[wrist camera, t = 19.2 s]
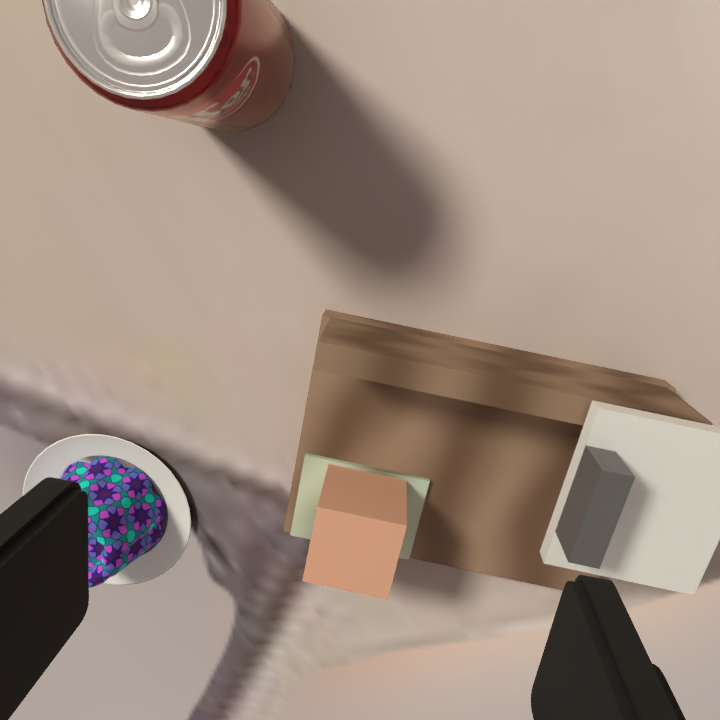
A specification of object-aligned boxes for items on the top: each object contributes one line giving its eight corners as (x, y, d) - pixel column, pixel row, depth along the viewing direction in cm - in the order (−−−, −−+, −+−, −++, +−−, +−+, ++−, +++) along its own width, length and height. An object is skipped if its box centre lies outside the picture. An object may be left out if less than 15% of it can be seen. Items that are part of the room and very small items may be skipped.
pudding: (116, 397, 39) (73, 430, 34) (228, 529, 41) (204, 577, 36) (-5, 484, 41) (-61, 527, 36) (107, 603, 44) (69, 658, 39)
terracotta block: (406, 480, 36) (406, 526, 32) (389, 546, 38) (387, 599, 33) (328, 463, 37) (317, 506, 32) (315, 530, 38) (302, 581, 33)
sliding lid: (752, 433, 29) (798, 467, 25) (685, 582, 31) (718, 631, 28) (592, 400, 29) (617, 429, 25) (539, 551, 31) (555, 596, 28)
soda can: (298, 133, 32) (242, 109, 21) (171, 132, 33) (48, 109, 22) (295, -17, 30) (229, -134, 19) (158, -15, 31) (14, -128, 19)
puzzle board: (664, 380, 35) (722, 425, 29) (587, 581, 40) (622, 658, 33) (325, 309, 35) (308, 339, 29) (287, 518, 40) (265, 583, 34)
